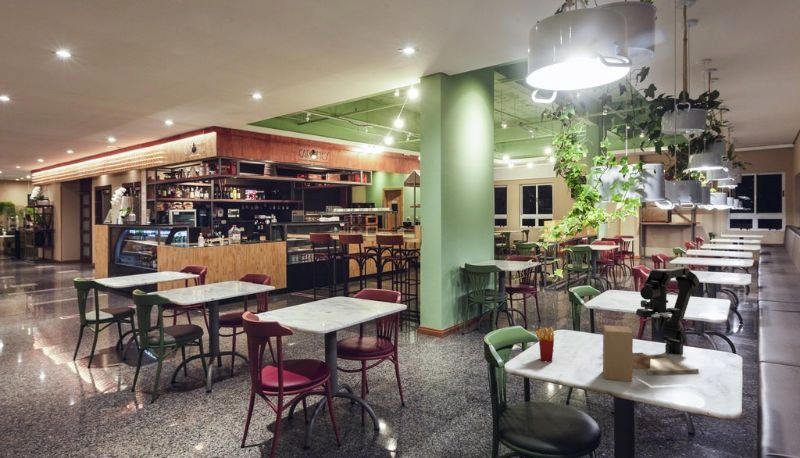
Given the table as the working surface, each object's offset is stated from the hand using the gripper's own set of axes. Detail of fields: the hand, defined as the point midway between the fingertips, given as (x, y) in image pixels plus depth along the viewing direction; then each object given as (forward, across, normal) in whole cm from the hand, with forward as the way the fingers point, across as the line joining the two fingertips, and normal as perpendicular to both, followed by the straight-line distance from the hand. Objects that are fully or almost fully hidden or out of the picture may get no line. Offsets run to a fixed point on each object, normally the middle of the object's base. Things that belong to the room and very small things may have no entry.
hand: (658, 331), depth 208 cm
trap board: (+13, +7, +10) cm, 18 cm away
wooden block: (+13, +30, +18) cm, 37 cm away
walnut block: (+12, +15, +10) cm, 22 cm away
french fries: (+13, +51, -6) cm, 53 cm away
